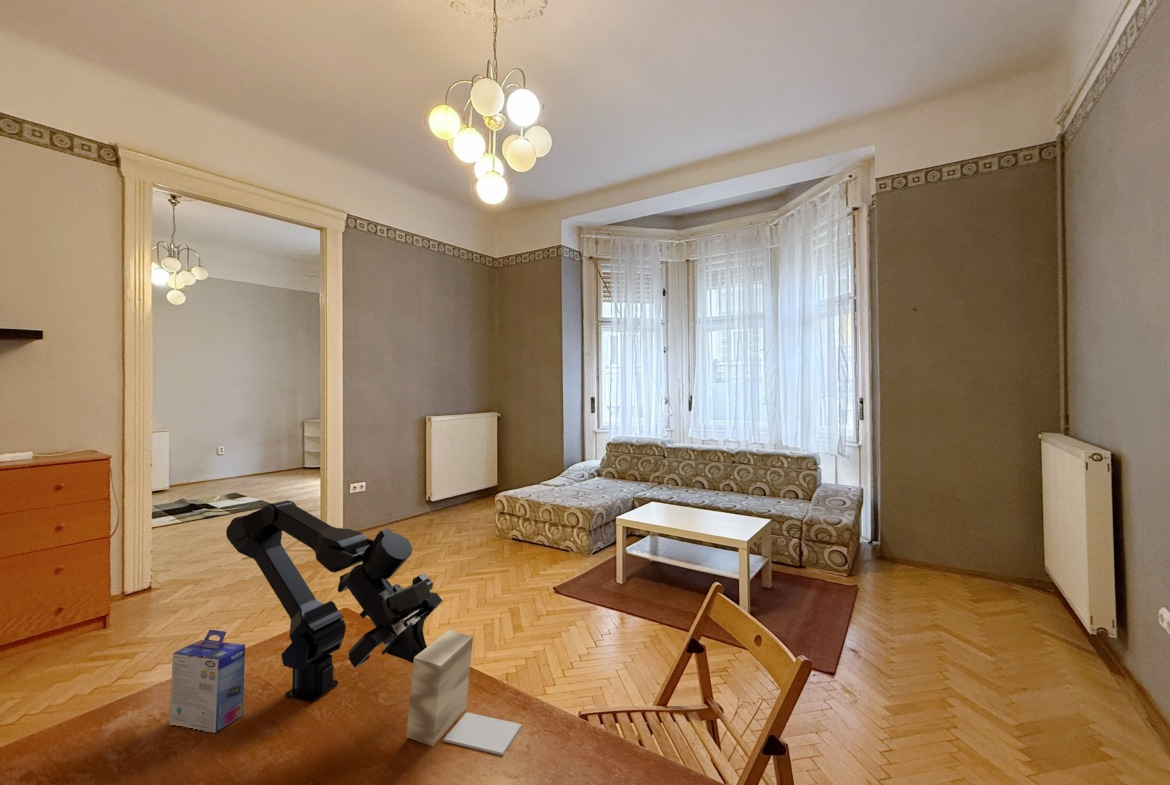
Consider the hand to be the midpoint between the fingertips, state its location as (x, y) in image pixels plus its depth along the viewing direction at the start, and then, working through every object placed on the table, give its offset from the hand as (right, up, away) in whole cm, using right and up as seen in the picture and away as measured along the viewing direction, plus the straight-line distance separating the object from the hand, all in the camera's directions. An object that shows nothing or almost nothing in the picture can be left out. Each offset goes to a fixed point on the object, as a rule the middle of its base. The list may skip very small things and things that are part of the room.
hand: (428, 666), depth 84 cm
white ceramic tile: (+10, -9, -3) cm, 14 cm away
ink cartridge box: (-38, -9, 0) cm, 39 cm away
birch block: (+2, -9, -1) cm, 9 cm away
